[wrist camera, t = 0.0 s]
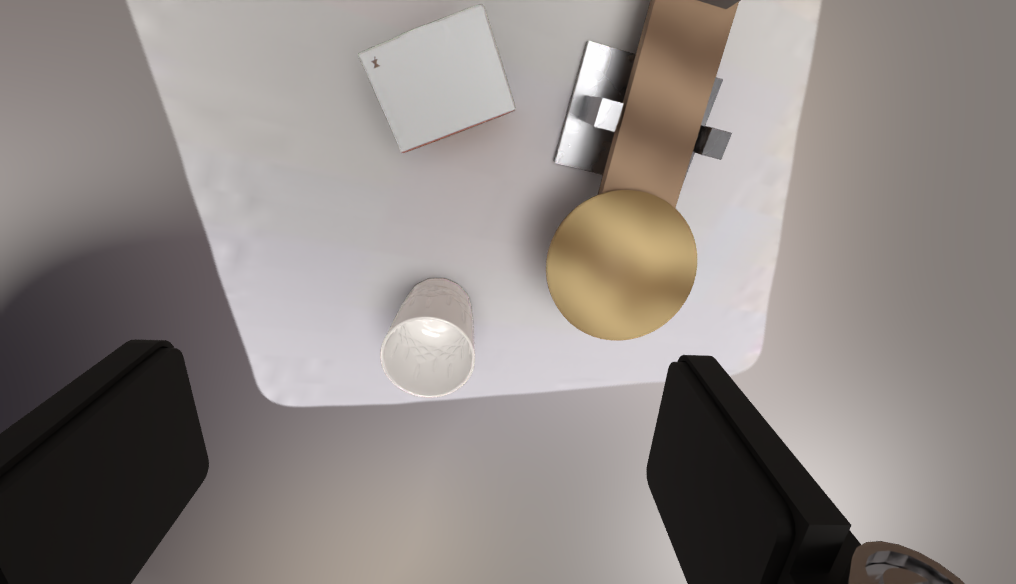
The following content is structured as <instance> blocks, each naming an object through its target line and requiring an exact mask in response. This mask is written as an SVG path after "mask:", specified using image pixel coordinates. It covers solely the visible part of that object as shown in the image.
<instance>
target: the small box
mask: <svg viewBox="0 0 1016 584" xmlns="http://www.w3.org/2000/svg"><path fill="white" fill-rule="evenodd" d="M358 57H359V59H360V61H361V63H362V66H363V68H364V70H365V72H366V74H367V76H368V79H369V81H370V83H371V85H372V88H373V90H374V92H375V94H376V96H377V99H378V101H379V103H380V105H381V108H382V110H383V112H384V114H385V116H386V119H387V121H388V123H389V126H390V128H391V130H392V133H393V135H394V137H395V139H396V142H397V144H398V146H399V149H400V151H401V153H405V152H408V151H411V150H413V149H416V148H419V147H421V146H424V145H427V144H429V143H432V142H435V141H438V140H440V139H443V138H445V137H448V136H450V135H453V134H456V133H458V132H461V131H464V130H466V129H469V128H471V127H474V126H476V125H479V124H482V123H484V122H487V121H489V120H492V119H495V118H498V117H500V116H502V115H505V114H507V113H510V112H513V111H515V109H516V107H515V104H514V100H513V97H512V94H511V91H510V87H509V84H508V81H507V78H506V74H505V71H504V68H503V65H502V61H501V58H500V55H499V52H498V49H497V45H496V42H495V39H494V36H493V32H492V29H491V26H490V23H489V19H488V16H487V13H486V10H485V7H484V5H482V4H479V5H476V6H473V7H470V8H468V9H465V10H462V11H460V12H457V13H455V14H452V15H449V16H447V17H444V18H442V19H439V20H436V21H434V22H431V23H428V24H426V25H423V26H420V27H417V28H415V29H412V30H410V31H407V32H405V33H403V34H401V35H399V36H397V37H395V38H393V39H390V40H388V41H386V42H383V43H381V44H379V45H376V46H374V47H371V48H369V49H367V50H365V51H362V52H360V53H358Z"/></svg>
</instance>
